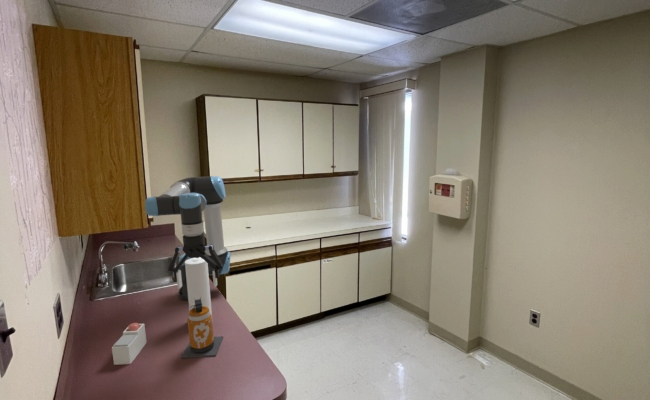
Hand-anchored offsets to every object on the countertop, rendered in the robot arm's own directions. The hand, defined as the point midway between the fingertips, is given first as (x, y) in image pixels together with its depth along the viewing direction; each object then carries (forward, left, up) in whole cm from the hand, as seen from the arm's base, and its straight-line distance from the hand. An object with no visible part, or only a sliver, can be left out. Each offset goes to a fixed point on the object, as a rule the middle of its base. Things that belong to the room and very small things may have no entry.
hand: (197, 286), depth 135 cm
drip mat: (0, 0, -26) cm, 26 cm away
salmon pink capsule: (-3, -27, -24) cm, 37 cm away
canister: (0, 0, -25) cm, 25 cm away
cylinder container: (-21, -6, -26) cm, 34 cm away
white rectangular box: (+1, -27, -26) cm, 38 cm away
